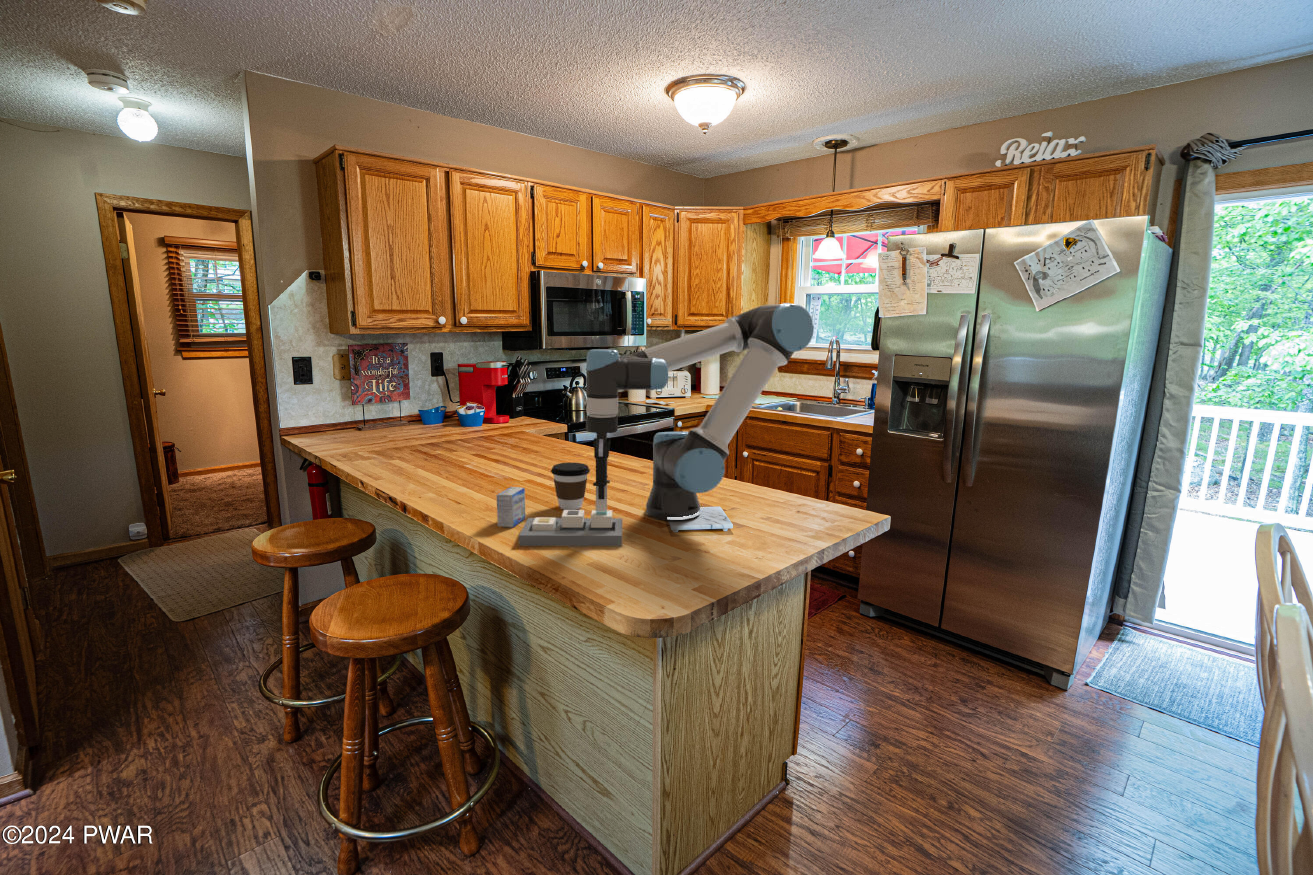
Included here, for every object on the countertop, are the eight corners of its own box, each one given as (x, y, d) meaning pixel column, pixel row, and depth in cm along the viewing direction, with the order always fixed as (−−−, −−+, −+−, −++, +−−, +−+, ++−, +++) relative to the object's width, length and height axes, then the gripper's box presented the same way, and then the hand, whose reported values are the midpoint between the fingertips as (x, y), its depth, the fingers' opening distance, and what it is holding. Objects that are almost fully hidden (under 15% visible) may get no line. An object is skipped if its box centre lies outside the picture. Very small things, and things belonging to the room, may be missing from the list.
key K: (584, 520, 148) (584, 509, 147) (582, 527, 143) (582, 515, 142) (564, 520, 147) (563, 509, 147) (561, 527, 143) (561, 515, 142)
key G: (556, 528, 148) (555, 516, 147) (553, 535, 143) (553, 523, 142) (535, 528, 147) (535, 516, 147) (532, 535, 143) (532, 523, 142)
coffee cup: (597, 505, 171) (597, 465, 169) (572, 515, 162) (572, 472, 160) (568, 499, 177) (568, 460, 175) (543, 508, 168) (542, 467, 166)
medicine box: (513, 528, 151) (512, 495, 149) (497, 526, 152) (496, 494, 150) (526, 518, 159) (525, 487, 157) (510, 517, 159) (509, 486, 158)
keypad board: (622, 527, 153) (622, 518, 152) (621, 546, 140) (621, 535, 139) (528, 527, 152) (528, 517, 151) (519, 545, 139) (518, 535, 138)
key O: (612, 520, 148) (612, 509, 147) (611, 527, 143) (611, 515, 143) (592, 520, 148) (592, 509, 147) (590, 527, 143) (590, 515, 142)
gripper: (588, 411, 147) (587, 502, 151) (584, 418, 134) (583, 518, 138) (618, 411, 147) (617, 503, 151) (617, 419, 134) (616, 519, 139)
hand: (601, 510), depth 145 cm, fingers closed
